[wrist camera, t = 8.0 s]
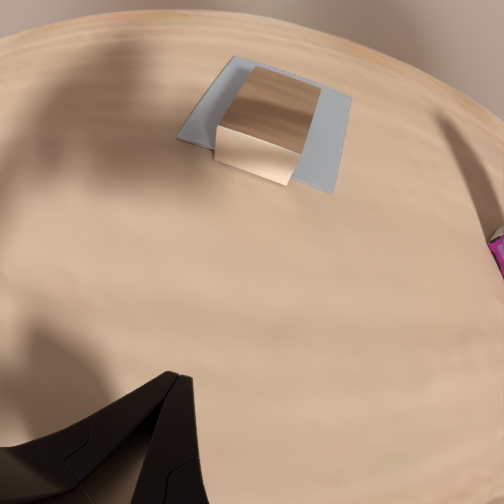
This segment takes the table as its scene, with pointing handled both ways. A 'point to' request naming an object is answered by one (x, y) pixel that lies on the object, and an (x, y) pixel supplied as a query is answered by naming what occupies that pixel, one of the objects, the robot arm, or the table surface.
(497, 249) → the candy bar box
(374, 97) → the table surface
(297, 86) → the walnut block
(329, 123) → the slate board
